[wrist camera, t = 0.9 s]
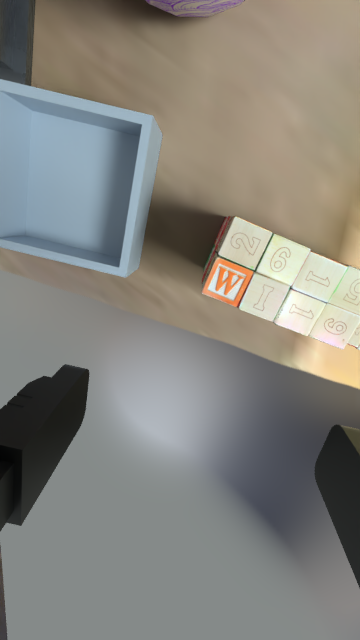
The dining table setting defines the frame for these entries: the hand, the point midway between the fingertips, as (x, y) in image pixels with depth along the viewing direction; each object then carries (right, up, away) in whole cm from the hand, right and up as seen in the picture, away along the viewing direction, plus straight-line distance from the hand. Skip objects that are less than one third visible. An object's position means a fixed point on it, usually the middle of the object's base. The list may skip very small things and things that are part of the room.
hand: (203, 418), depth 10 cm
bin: (-11, +17, +23) cm, 31 cm away
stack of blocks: (+13, +8, +25) cm, 29 cm away
